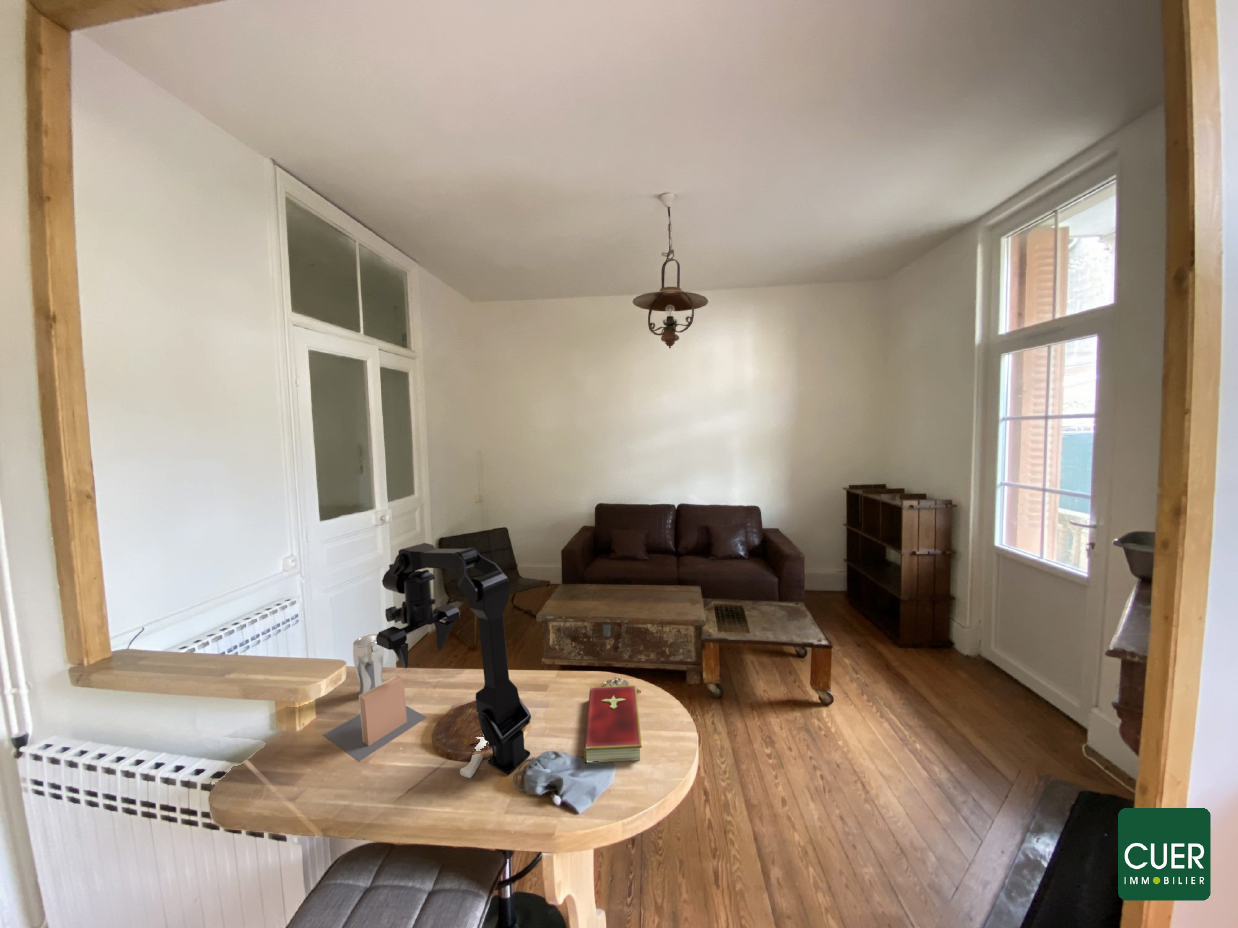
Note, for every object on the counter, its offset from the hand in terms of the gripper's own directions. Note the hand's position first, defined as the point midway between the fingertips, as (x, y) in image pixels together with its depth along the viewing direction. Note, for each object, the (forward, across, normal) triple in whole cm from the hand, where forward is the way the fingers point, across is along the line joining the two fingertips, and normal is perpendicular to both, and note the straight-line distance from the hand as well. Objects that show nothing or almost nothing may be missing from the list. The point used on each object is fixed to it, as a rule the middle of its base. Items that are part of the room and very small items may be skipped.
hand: (423, 658), depth 106 cm
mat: (+15, +9, -7) cm, 18 cm away
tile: (+14, +9, -3) cm, 17 cm away
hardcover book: (+15, -19, +42) cm, 49 cm away
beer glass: (+15, +2, -22) cm, 26 cm away
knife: (+15, -4, +15) cm, 22 cm away
